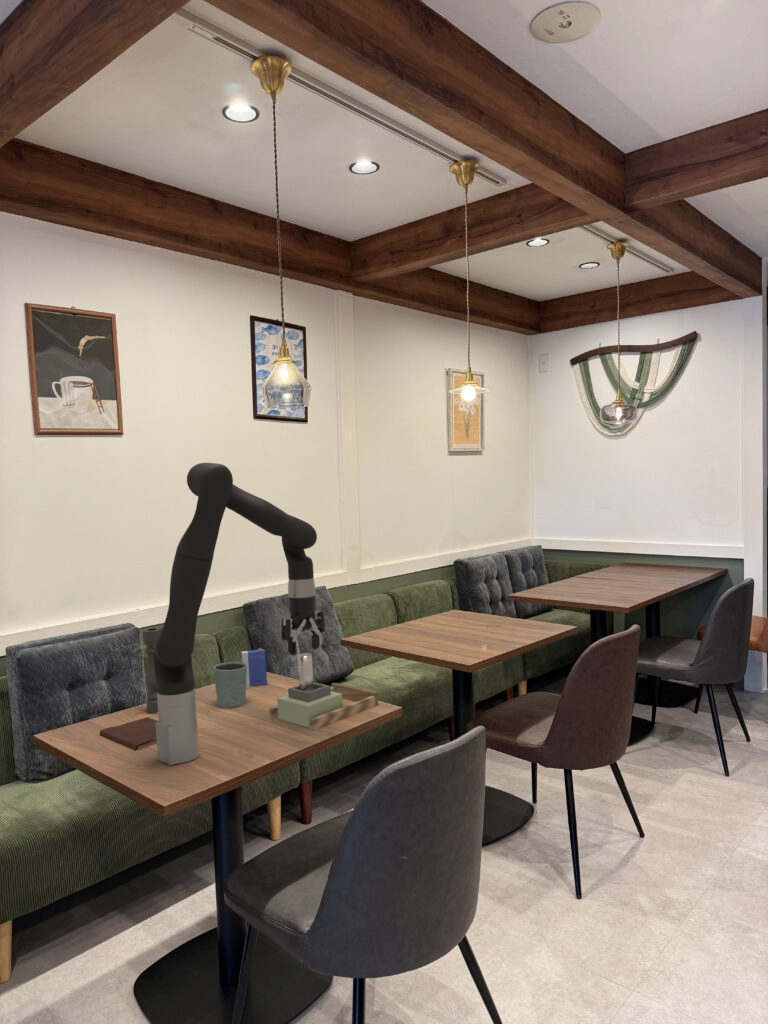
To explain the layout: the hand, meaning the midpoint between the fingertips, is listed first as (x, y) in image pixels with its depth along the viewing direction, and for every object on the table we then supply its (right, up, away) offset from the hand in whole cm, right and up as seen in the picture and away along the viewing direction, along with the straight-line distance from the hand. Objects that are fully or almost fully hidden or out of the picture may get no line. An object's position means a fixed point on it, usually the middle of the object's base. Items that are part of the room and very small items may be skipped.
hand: (304, 651), depth 205 cm
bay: (+5, -20, +6) cm, 21 cm away
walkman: (-21, -19, +41) cm, 50 cm away
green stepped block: (+2, -19, +2) cm, 19 cm away
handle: (+1, -13, +1) cm, 13 cm away
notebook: (-45, -23, -3) cm, 50 cm away
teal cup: (-25, -21, +22) cm, 39 cm away
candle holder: (-47, -22, +19) cm, 55 cm away
